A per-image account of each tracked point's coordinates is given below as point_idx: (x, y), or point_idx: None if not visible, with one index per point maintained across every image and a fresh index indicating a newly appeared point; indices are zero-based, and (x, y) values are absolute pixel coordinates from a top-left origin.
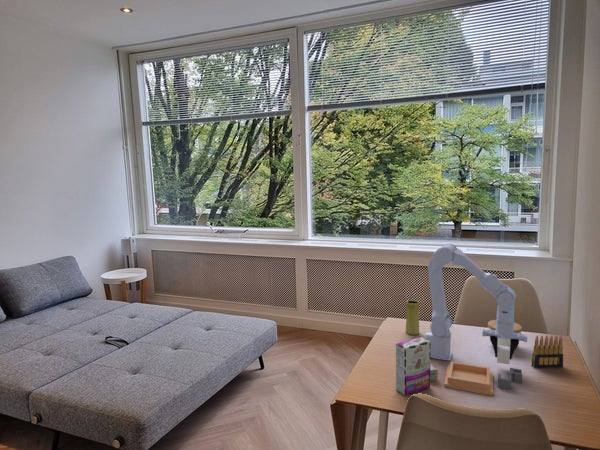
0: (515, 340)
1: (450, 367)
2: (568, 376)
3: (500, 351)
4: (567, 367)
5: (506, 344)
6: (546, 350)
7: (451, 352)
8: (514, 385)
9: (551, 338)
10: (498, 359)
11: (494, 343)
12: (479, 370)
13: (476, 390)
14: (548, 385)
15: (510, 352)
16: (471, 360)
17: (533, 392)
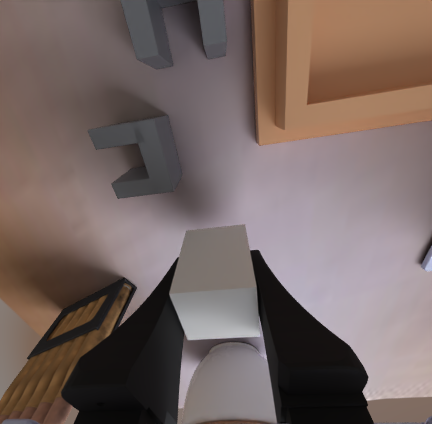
0: (103, 419)
1: None
2: (19, 267)
3: (234, 276)
4: (53, 313)
5: (223, 361)
6: (54, 362)
7: (428, 265)
8: (135, 66)
9: None
10: (239, 235)
11: (301, 331)
12: (342, 97)
13: None
14: (21, 164)
15: (170, 288)
16: (343, 241)
17: (22, 23)
